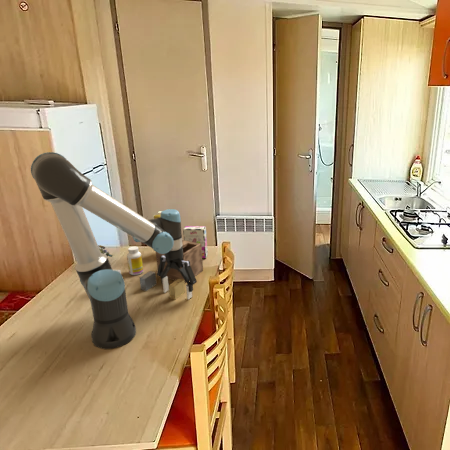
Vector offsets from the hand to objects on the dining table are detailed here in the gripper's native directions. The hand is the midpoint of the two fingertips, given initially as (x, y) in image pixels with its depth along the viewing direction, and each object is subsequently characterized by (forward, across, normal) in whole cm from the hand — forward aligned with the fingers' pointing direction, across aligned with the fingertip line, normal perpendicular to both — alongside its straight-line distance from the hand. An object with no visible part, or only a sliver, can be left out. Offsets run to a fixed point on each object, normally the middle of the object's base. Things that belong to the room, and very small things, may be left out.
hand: (177, 294), depth 157 cm
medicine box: (0, +29, +9) cm, 30 cm away
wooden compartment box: (0, +11, -17) cm, 20 cm away
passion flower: (0, +56, -7) cm, 56 cm away
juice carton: (0, +31, -31) cm, 44 cm away
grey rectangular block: (0, +16, 0) cm, 16 cm away
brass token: (0, 0, 0) cm, 0 cm away
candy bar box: (0, +15, -36) cm, 39 cm away
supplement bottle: (0, +31, -8) cm, 32 cm away
